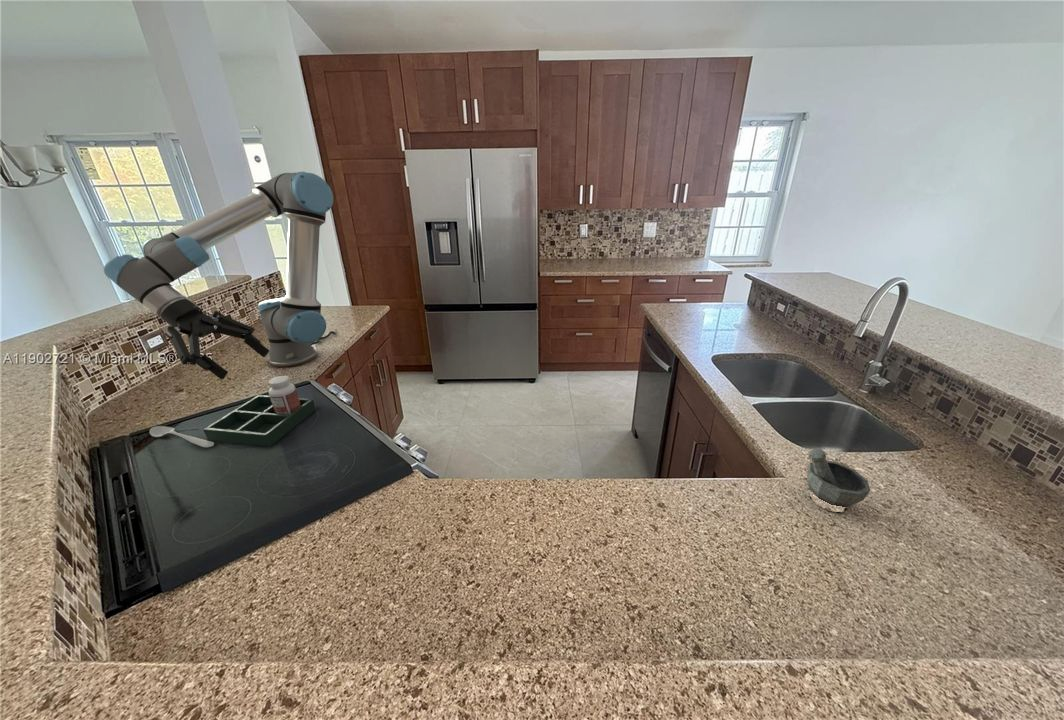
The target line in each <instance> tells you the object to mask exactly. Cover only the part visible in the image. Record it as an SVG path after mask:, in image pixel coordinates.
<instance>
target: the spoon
mask: <svg viewBox="0 0 1064 720" xmlns="http://www.w3.org/2000/svg"><path fill="white" fill-rule="evenodd" d="M149 434H150V436H151V437H153V438H160V437H164V436H166V435H169V434H171V435H174V436H177V437H180V438H182V439H184V440H185V441H187V442H189V443H191V444H194V445H196V446H199V447H201V448H204V449H207V448H212V447H214V446H215V441H208V439H204V438H203V439H202V438H199V437H196V436H192V435H188V434H184V433H179V432H177V431H176V428H175V427H172V426H171V427H170V426H164V425H156V426H152V427H151V428H150V429H149Z"/></svg>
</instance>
